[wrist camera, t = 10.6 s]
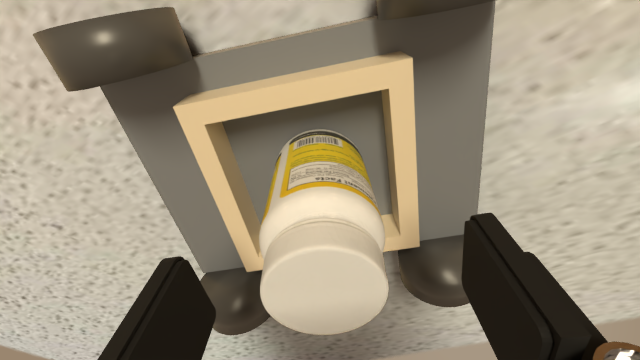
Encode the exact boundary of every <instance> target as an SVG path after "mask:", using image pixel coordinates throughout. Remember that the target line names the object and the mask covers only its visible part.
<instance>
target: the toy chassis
mask: <svg viewBox="0 0 640 360" xmlns="http://www.w3.org/2000/svg"><path fill="white" fill-rule="evenodd" d="M376 2H377V13H378V16H373V17H369V18H364V19H360V20H355V21H350V22H346V23H341V24H337V25H332V26H328V27H323V28H318V29H314V30H309V31H305V32H300V33H296V34H291V35H287V36H282V37H277V38H273V39H268V40H264V41H259V42H255V43H250V44H245V45H241V46H236V47H232V48H227V49H223V50H218V51H214V52H209V53H204V54H200V55H195V56H192V54H191V51H190V49H189V46H188V44H187V41H186V38H185V36H184V33H183V31H182V28H181V25H180V23H179V20H178V18H177V15H176V12H175V10H174V8H173V7H164V8H153V9H146V10H139V11H132V12H126V13H120V14H114V15H109V16H103V17H98V18H93V19H88V20H83V21H79V22H74V23H70V24H65V25H61V26H57V27H53V28H49V29H46V30H43V31H40V32H37V33H34V34H33V36H34V38H35V39H36V41H37V42H38V44H39V46H40V47H41V49H42V51H43V52H44V54H45V56H46V57H47V59H48V60H49V62H50V64H51V65H52V67H53V69H54V70H55V72H56V73H57V75H58V77H59V78H60V80H61V82H62V83H63V85H64V87H65V88H66V90H67V91H78V90H84V89H89V88H94V87H98V86H100V88H101V89H102V91H103V93H104V95H105V97H106V98H107V100H108V102H109V104H110V106H111V107H112V109H113V111H114V113H115V115H116V116H117V118H118V120H119V122H120V124H121V125H122V127H123V129H124V131H125V133H126V134H127V136H128V138H129V140H130V142H131V143H132V145H133V147H134V149H135V151H136V152H137V154H138V156H139V158H140V160H141V161H142V163H143V165H144V167H145V169H146V171H147V172H148V174H149V176H150V178H151V180H152V181H153V183H154V185H155V187H156V189H157V190H158V192H159V194H160V196H161V198H162V199H163V201H164V203H165V205H166V207H167V208H168V210H169V212H170V214H171V216H172V217H173V219H174V221H175V223H176V225H177V226H178V228H179V230H180V232H181V234H182V235H183V237H184V239H185V241H186V243H187V244H188V246H189V248H190V250H191V252H192V253H193V255H194V257H195V259H196V261H197V262H198V264H199V266H200V268H201V270H202V271H203V273H206V274H205V275H204V276H203V278H202V279H201V281H200V282H201V284H202V286H203V288H204V289H205V291H206V293H207V295H208V296H209V298H210V300H211V302H212V304H213V305H214V307H215V309H216V319H215V322H214V325H213V329H214V330H216V331H217V332H219V333H221V334H225V335H238V334H243V333H246V332H248V331H251V330H253V329H255V328H256V327H258V326H259V325H261V324H262V323H263V322H265V321H266V320H267V319H268V318H269V317H270V316H271V315H270V314H269V313H268V312H267V311H266V309H265V307H264V306H263V303H262V300H261V297H260V283H261V277H262V271H263V265H264V259H263V257H262V254H261V251H260V244H259V232H260V228H261V223H262V219H263V216H264V212H265V208H266V204H267V199H268V195H269V191H270V186H271V182H272V178H273V173H274V169H275V164H276V161H277V158H278V156H279V153H280V152H281V150H282V148H283V147H284V146H285V144H286V143H287V142H288V141H289V140H291V139H292V138H293V137H295V136H296V135H298V134H300V133H303V132H305V131H309V130H315V129H325V130H331V131H334V132H337V133H340V134H342V135H343V136H345V137H347V138H348V139H349V140H350V141H352V142H353V143H354V145H355V146H356V147H357V149H358V150H359V152H360V154H361V156H362V159H363V162H364V165H365V168H366V171H367V174H368V177H369V180H370V183H371V187H372V190H373V193H374V196H375V199H376V202H377V205H378V208H379V211H380V215H381V218H382V221H383V225H384V230H385V246H384V250H383V252H387V251H393V250H398V256H399V267H400V276H401V280H402V282H403V284H404V286H405V287H406V288H407V290H408V291H409V292H410V293H411V294H413V295H414V296H415V297H417V298H418V299H420V300H422V301H424V302H426V303H429V304H432V305H436V306H441V307H457V306H462V305H465V304H468V303H470V301H469V299H468V297H467V295H466V293H465V291H464V289H463V286H462V280H461V277H462V259H463V242H464V224H465V221H468V220H470V217H471V216H472V215H477V211H478V199H479V188H480V176H481V164H482V152H483V141H484V129H485V117H486V106H487V94H488V82H489V70H490V59H491V47H492V35H493V23H494V12H495V0H376Z"/></svg>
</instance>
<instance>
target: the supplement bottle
mask: <svg viewBox="0 0 640 360" xmlns="http://www.w3.org/2000/svg"><path fill="white" fill-rule="evenodd" d="M259 244H260V251H261V254H262V257H263V259H264V265H263V271H262V277H261V283H260V297H261V300H262V303H263V306H264V307H265V309H266V311H267V312H268V313H269V314H270V315H271V316H272V317H273V318H274V319H275V320H276V321H277V322H279V323H280V324H282V325H284V326H286V327H288V328H290V329H292V330H295V331H298V332H302V333H306V334H312V335H333V334H340V333H344V332H348V331H351V330H354V329H357V328H359V327H361V326H363V325H365V324H366V323H368V322H369V321H371V320H372V319H373V318H375V317H376V316H377V315H378V314H379V312H380V311H381V310H382V308H383V307H384V305H385V303H386V301H387V297H388V291H389V285H388V279H387V275H386V270H385V264H384V257H383V254H382V253H383V250H384V246H385V230H384V225H383V221H382V218H381V215H380V211H379V208H378V205H377V202H376V199H375V196H374V193H373V190H372V187H371V183H370V180H369V177H368V174H367V171H366V168H365V165H364V162H363V159H362V156H361V154H360V152H359V150H358V149H357V147H356V146H355V145H354V143H353V142H352V141H350V140H349V139H348V138H347V137H345V136H343V135H342V134H340V133H337V132H334V131H331V130H325V129H315V130H309V131H305V132H303V133H300V134H298V135H296V136H295V137H293V138H292V139H291V140H289V141H288V142H287V143H286V144H285V146H284V147H283V148H282V150H281V152H280V153H279V156H278V158H277V161H276V164H275V169H274V173H273V178H272V182H271V186H270V191H269V195H268V199H267V204H266V208H265V212H264V216H263V219H262V223H261V228H260V232H259Z"/></svg>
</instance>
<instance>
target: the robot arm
mask: <svg viewBox="0 0 640 360" xmlns="http://www.w3.org/2000/svg"><path fill="white" fill-rule="evenodd" d="M461 280H462V286H463V289H464V291H465V293H466V295H467V297H468V299H469V301H470V304H471V306H472V308H473V310H474V312H475V314H476V316H477V318H478V320H479V322H480V324H481V326H482V328H483V330H484V332H485V334H486V336H487V338H488V340H489V342H490V345H491V347H492V349H493V351H494V353H495V355H496V357H497V359H498V360H640V347H639V346H636V345H633V344H629V343H625V342H607V340H606V339H605V338H604V337H603V336H602V334H601V333H600V332H599V331H598V330H597V328H596V327H595V326H594V325H593V324H592V323H591V321H590V320H589V319H588V318H587V317H586V315H585V314H584V313H583V312H582V311H581V309H580V308H579V307H578V306H577V305H576V304H575V302H574V301H573V300H572V299H571V298H570V296H569V295H568V294H567V293H566V292H565V290H564V289H563V288H562V287H561V286H560V284H559V283H558V282H557V281H556V280H555V279H554V277H553V276H552V275H551V274H550V273H549V271H548V270H547V269H546V268H545V267H544V265H543V264H542V263H541V262H540V261H539V259H538V258H537V257H536V256H535V255H534V254H532V253H530V252H523V250H522V249H521V248H520V247H519V245H518V244H517V243H516V242H515V240H514V239H513V238H512V237H511V235H510V234H509V233H508V232H507V230H506V229H505V228H504V227H503V226H502V224H501V223H500V222H499V221H498V219H497V218H496V217H495V216H494V215H493V214H492V213H485V214H478V215H472V216H471V217H470V220H468V221H465V224H464V242H463V259H462V277H461ZM215 319H216V309H215V307H214V305H213V304H212V302H211V300H210V298H209V296H208V295H207V293H206V291H205V289H204V288H203V286H202V284H201V282H200V281H199V279H198V277H197V275H196V274H195V272H194V270H193V268H192V266H191V265H190V263H189V262H188V261H187V260H184V258H183V257H172V258H165V259H163V260H162V261H161V262H160V263H159V265H158V266H157V268H156V270H155V271H154V273H153V274H152V276H151V277H150V279H149V280H148V282H147V284H146V285H145V287H144V288H143V290H142V291H141V293H140V294H139V296H138V298H137V299H136V301H135V302H134V304H133V305H132V307H131V308H130V310H129V312H128V313H127V315H126V316H125V318H124V319H123V321H122V322H121V324H120V326H119V327H118V329H117V330H116V332H115V333H114V335H113V336H112V338H111V340H110V341H109V343H108V344H107V346H106V347H105V349H104V350H103V352H102V354H101V355H100V357H99V358H98V360H201V359H202V356H203V353H204V351H205V348H206V345H207V342H208V339H209V336H210V333H211V331H212V328H213V325H214V322H215Z"/></svg>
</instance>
